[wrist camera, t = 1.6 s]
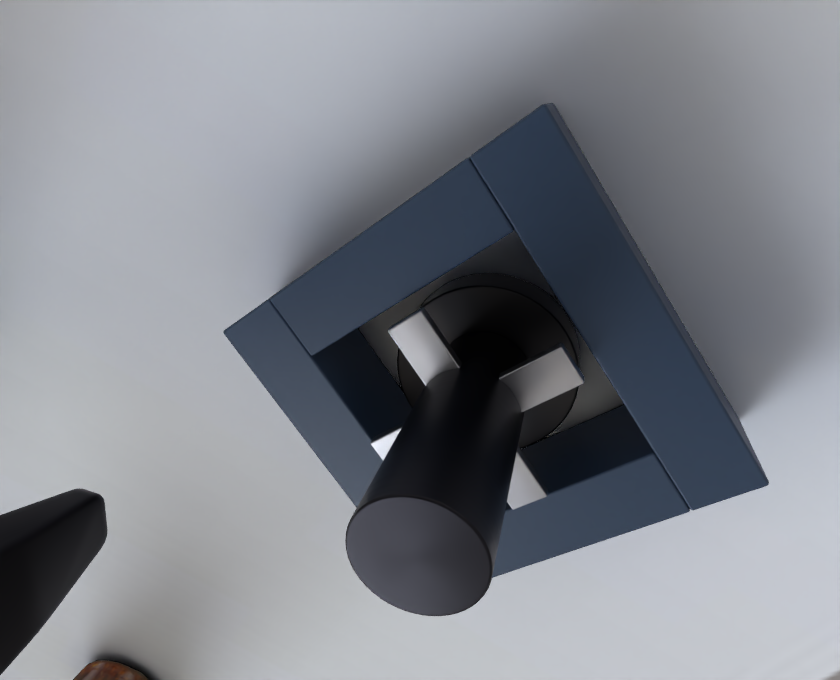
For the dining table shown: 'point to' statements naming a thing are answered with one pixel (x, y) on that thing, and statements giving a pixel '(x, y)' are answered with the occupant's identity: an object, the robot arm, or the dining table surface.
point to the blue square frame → (585, 305)
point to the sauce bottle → (109, 672)
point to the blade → (462, 439)
